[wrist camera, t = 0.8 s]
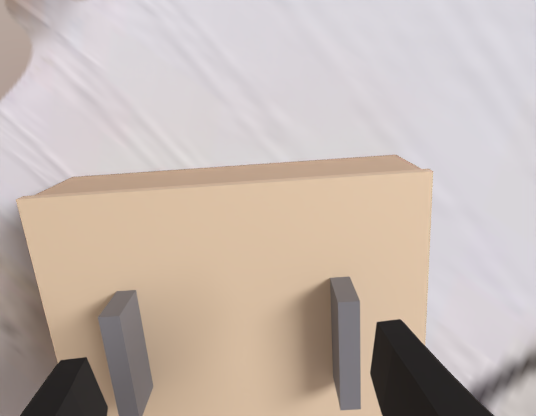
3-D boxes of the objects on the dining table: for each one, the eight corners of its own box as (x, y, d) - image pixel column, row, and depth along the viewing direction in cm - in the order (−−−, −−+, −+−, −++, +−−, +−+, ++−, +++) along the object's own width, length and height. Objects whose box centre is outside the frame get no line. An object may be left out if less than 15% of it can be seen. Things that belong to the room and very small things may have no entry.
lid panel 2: (416, 437, 25) (437, 485, 22) (250, 446, 25) (248, 494, 22) (428, 168, 20) (456, 183, 17) (223, 182, 20) (216, 199, 17)
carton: (391, 374, 30) (415, 430, 25) (117, 390, 30) (89, 448, 25) (396, 154, 25) (425, 171, 20) (72, 177, 26) (27, 198, 21)
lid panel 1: (250, 446, 25) (248, 494, 22) (87, 455, 25) (63, 504, 22) (223, 182, 20) (216, 199, 17) (23, 196, 21) (-19, 215, 18)
